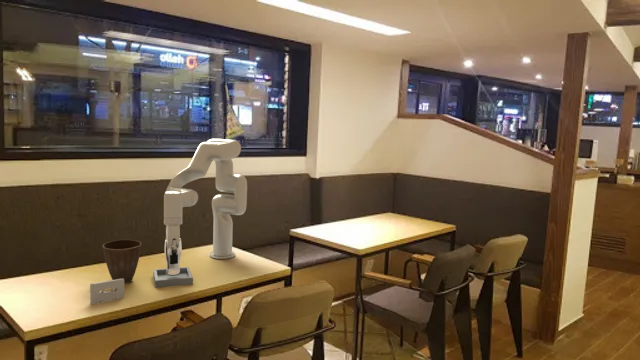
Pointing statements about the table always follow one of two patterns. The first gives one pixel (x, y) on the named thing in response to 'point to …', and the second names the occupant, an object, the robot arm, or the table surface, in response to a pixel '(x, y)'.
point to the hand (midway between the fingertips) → (173, 260)
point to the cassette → (109, 295)
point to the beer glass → (171, 268)
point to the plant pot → (122, 258)
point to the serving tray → (172, 278)
